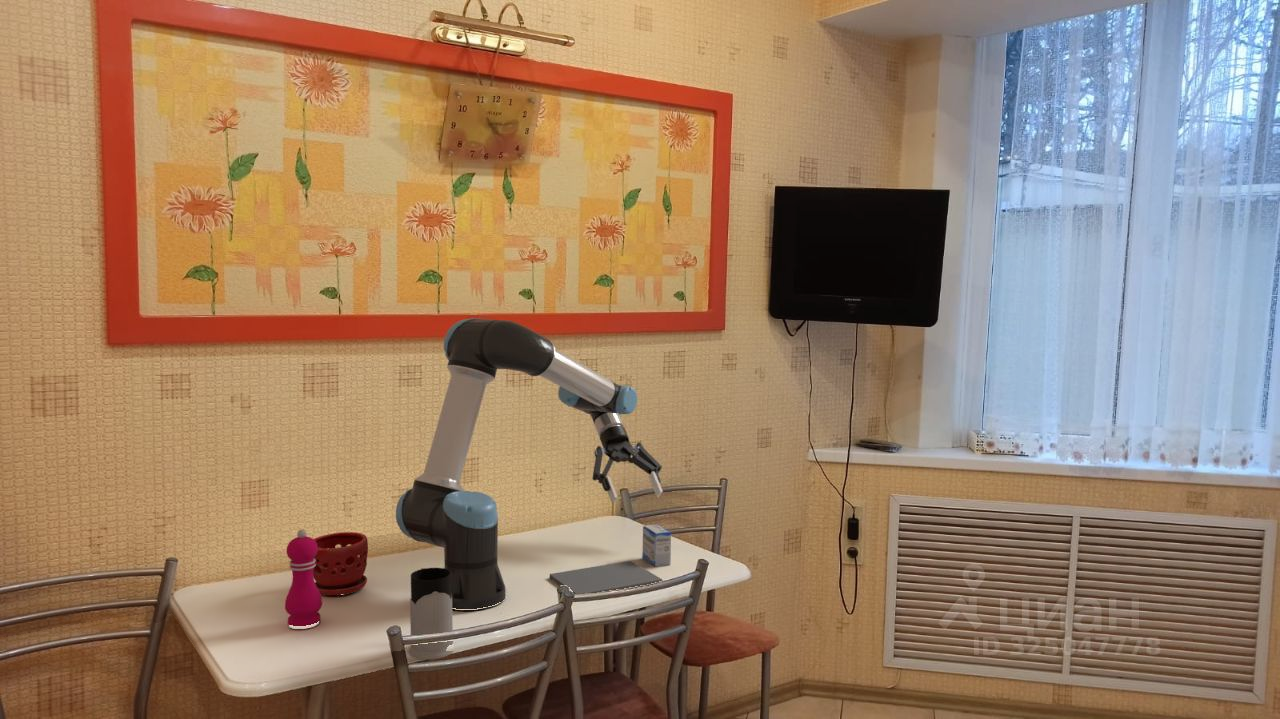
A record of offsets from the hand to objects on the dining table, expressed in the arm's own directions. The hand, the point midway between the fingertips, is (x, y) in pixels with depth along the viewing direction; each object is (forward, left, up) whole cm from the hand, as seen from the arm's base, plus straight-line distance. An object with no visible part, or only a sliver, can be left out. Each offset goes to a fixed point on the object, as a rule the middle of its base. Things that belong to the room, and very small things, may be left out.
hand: (637, 497), depth 232 cm
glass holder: (-65, -34, -15) cm, 75 cm away
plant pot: (-75, +6, -15) cm, 77 cm away
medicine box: (0, -10, -15) cm, 18 cm away
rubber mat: (-18, -17, -14) cm, 29 cm away
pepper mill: (-85, -12, -15) cm, 87 cm away
